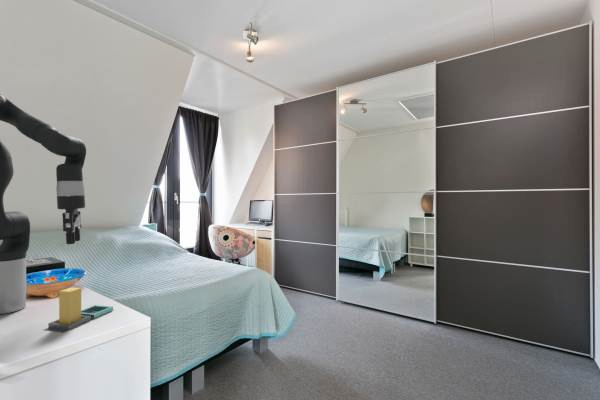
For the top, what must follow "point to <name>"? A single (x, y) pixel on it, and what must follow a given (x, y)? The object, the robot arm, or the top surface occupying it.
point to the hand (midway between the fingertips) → (73, 242)
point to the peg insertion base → (86, 316)
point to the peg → (69, 305)
